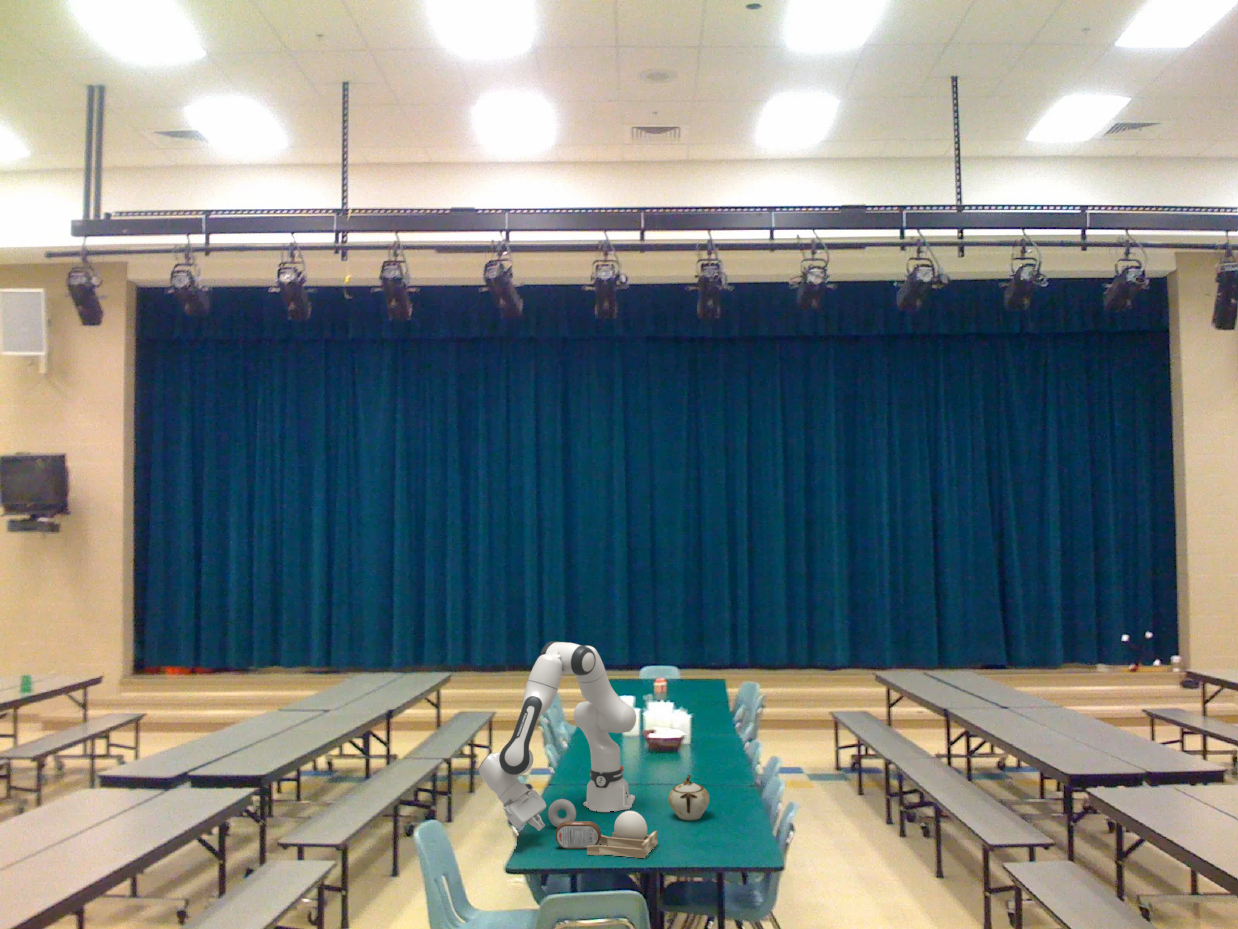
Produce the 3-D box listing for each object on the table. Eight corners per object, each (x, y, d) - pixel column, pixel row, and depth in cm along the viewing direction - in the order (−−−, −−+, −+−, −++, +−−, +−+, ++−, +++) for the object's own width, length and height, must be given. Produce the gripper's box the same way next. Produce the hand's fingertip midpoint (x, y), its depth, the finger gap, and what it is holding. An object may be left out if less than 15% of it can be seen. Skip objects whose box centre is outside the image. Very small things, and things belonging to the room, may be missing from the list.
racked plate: (616, 843, 316) (615, 809, 317) (647, 846, 313) (646, 812, 313) (614, 845, 315) (613, 811, 316) (646, 847, 311) (645, 813, 312)
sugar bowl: (710, 825, 332) (709, 781, 333) (667, 825, 334) (666, 782, 335) (709, 808, 352) (708, 767, 353) (669, 809, 353) (668, 767, 354)
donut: (577, 826, 335) (576, 797, 336) (575, 830, 332) (574, 800, 332) (549, 826, 336) (548, 797, 337) (547, 829, 333) (546, 800, 333)
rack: (602, 839, 320) (602, 826, 321) (657, 844, 314) (657, 830, 314) (585, 855, 305) (585, 841, 305) (643, 861, 299) (642, 846, 299)
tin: (601, 846, 314) (600, 820, 314) (600, 849, 311) (599, 823, 311) (556, 846, 315) (555, 820, 315) (554, 850, 312) (554, 823, 312)
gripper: (507, 798, 311) (535, 831, 307) (533, 782, 330) (559, 813, 326) (495, 811, 312) (522, 844, 308) (521, 794, 331) (548, 825, 327)
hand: (542, 828), depth 317 cm, fingers closed
